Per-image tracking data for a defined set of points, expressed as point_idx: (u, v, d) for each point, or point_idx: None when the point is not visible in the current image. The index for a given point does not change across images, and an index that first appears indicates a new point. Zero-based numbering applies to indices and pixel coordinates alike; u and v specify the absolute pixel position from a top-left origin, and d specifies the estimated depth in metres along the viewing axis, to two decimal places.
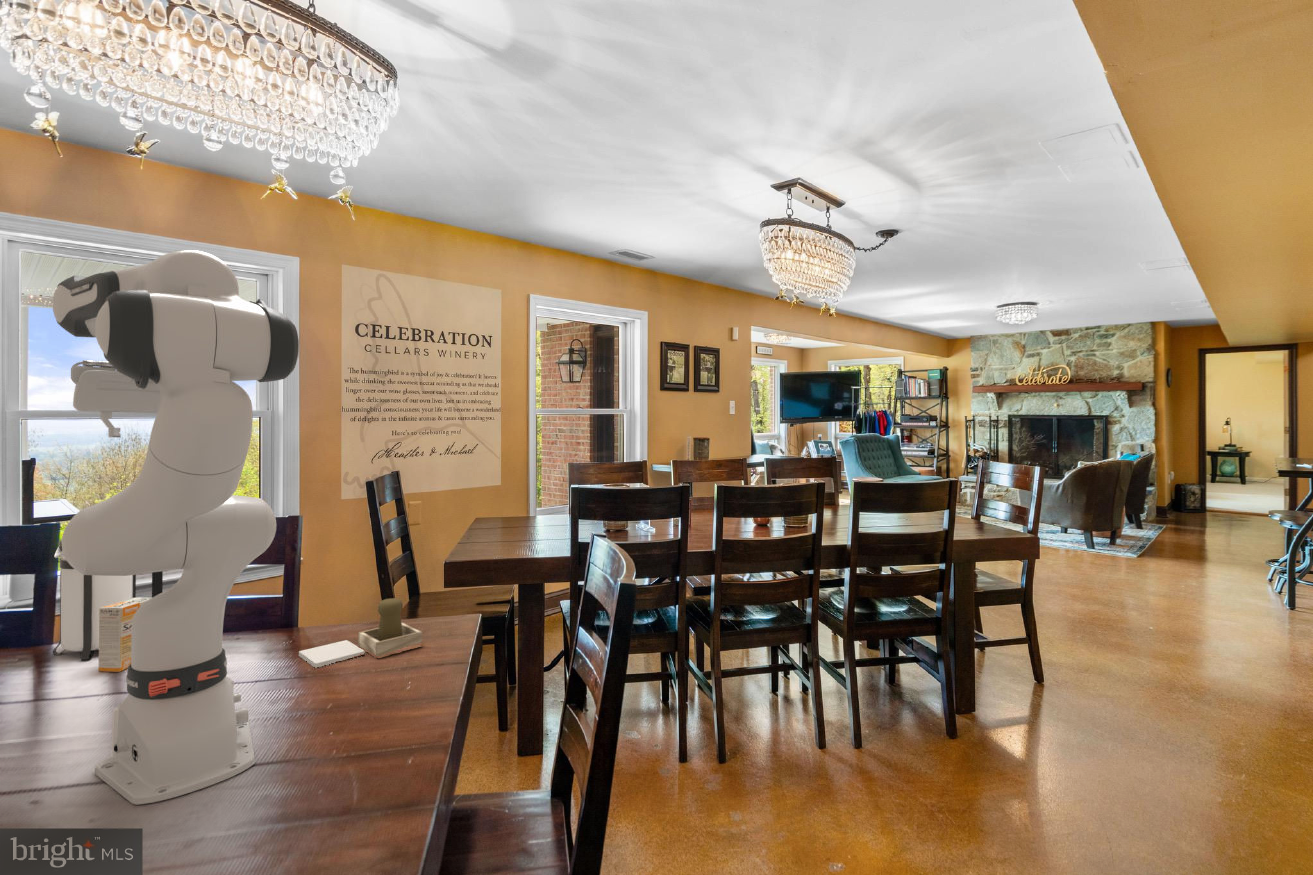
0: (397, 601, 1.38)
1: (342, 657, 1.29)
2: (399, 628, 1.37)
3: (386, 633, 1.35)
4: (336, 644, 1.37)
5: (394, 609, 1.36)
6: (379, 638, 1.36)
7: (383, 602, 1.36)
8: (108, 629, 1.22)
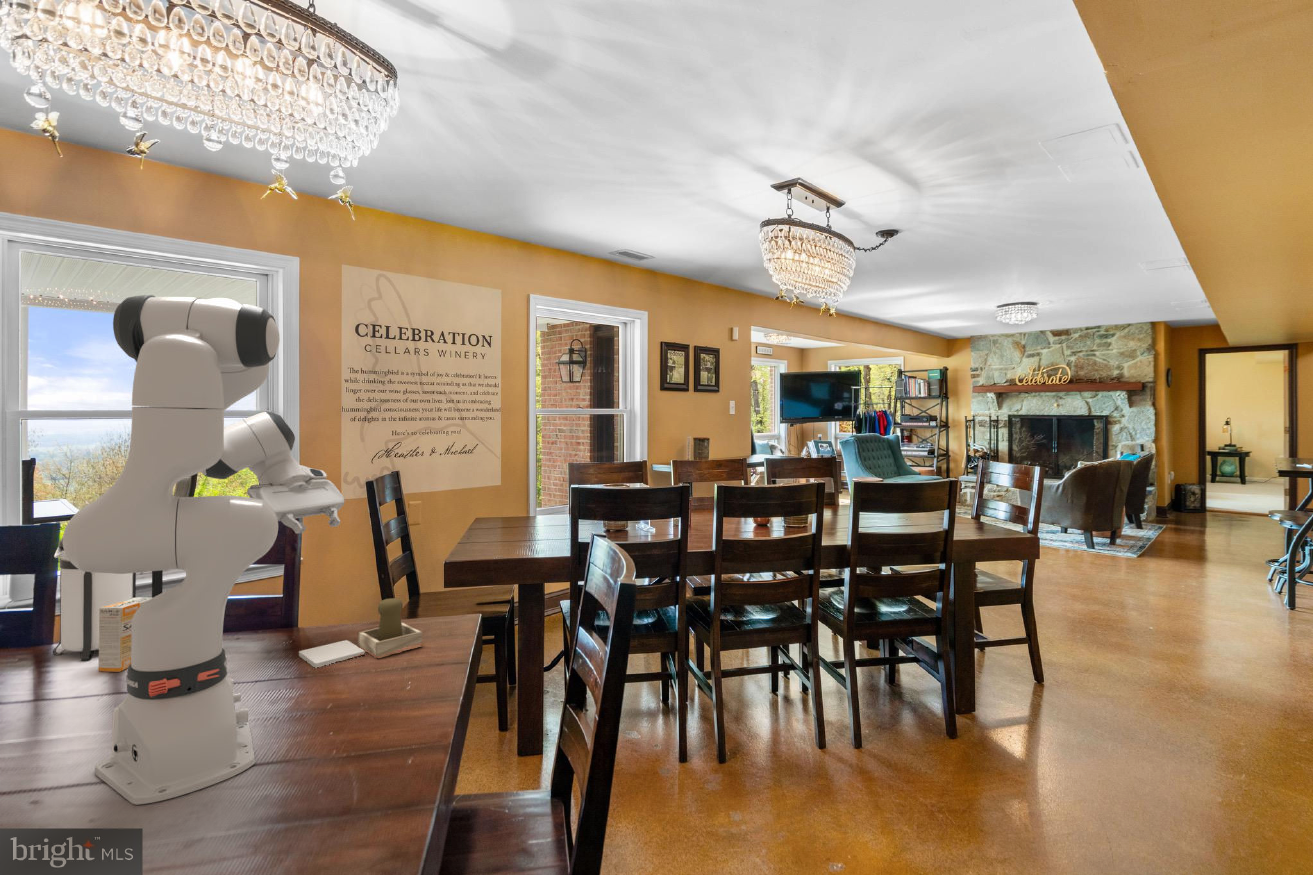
0: (397, 601, 1.38)
1: (342, 657, 1.29)
2: (399, 628, 1.37)
3: (386, 633, 1.35)
4: (336, 644, 1.37)
5: (394, 609, 1.36)
6: (379, 638, 1.36)
7: (383, 602, 1.36)
8: (108, 629, 1.22)
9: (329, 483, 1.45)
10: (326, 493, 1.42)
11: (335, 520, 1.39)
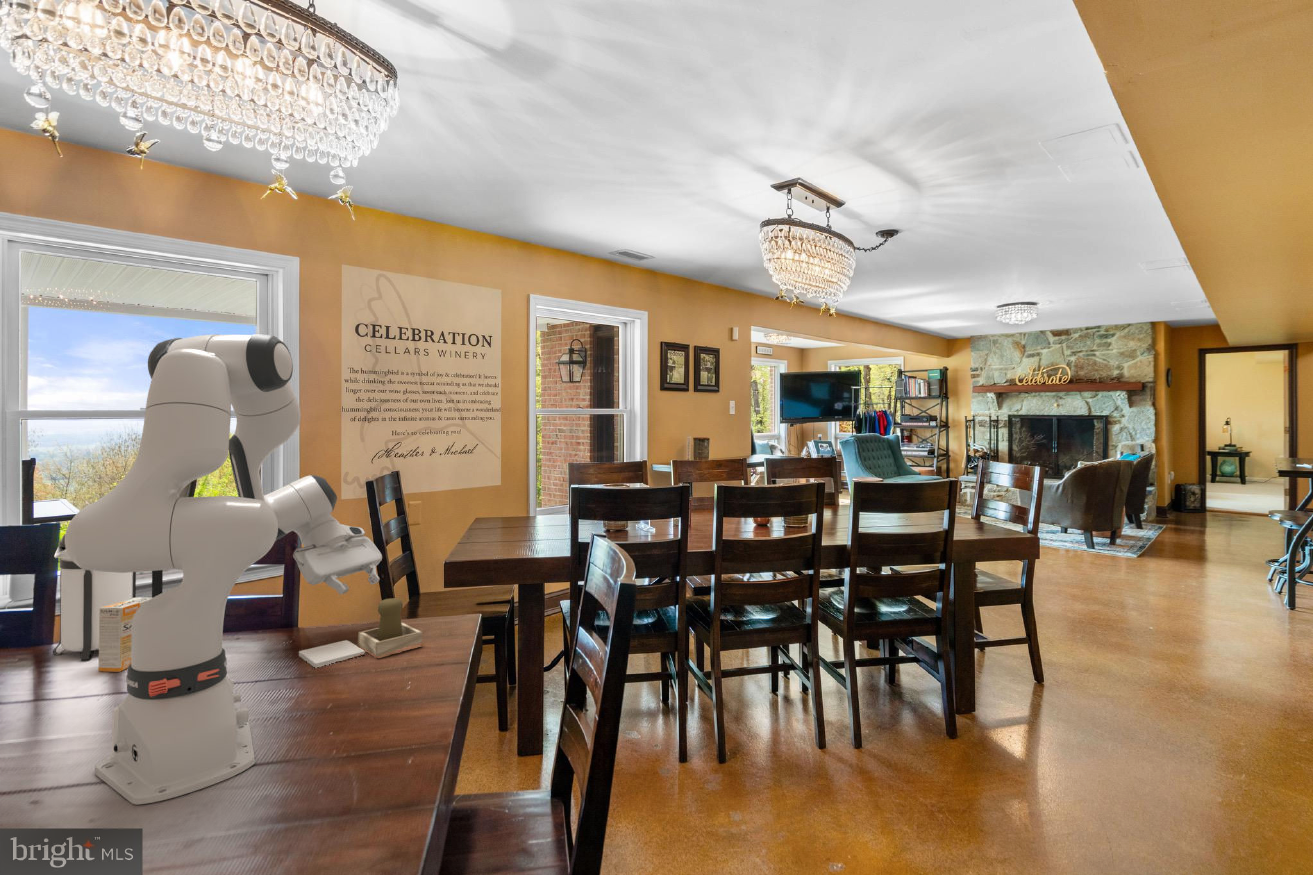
0: (397, 601, 1.38)
1: (342, 657, 1.29)
2: (399, 628, 1.37)
3: (386, 633, 1.35)
4: (336, 644, 1.37)
5: (394, 609, 1.36)
6: (379, 638, 1.36)
7: (383, 602, 1.36)
8: (108, 629, 1.22)
9: (367, 540, 1.50)
10: (365, 550, 1.47)
11: (374, 578, 1.44)
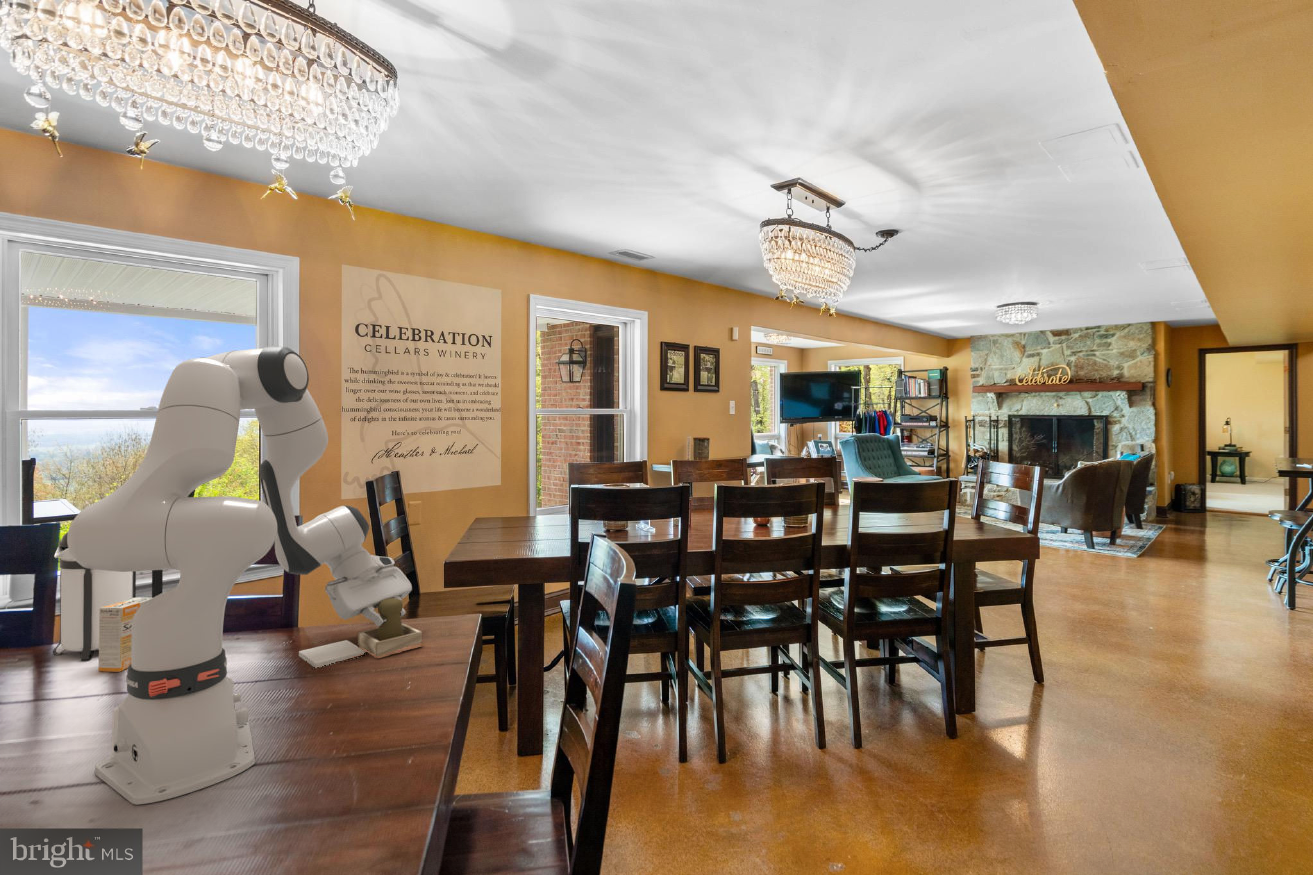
0: (397, 600, 1.38)
1: (342, 657, 1.29)
2: (399, 628, 1.37)
3: (386, 633, 1.35)
4: (336, 644, 1.37)
5: (394, 609, 1.36)
6: (379, 638, 1.36)
7: (383, 602, 1.36)
8: (108, 629, 1.22)
9: (397, 570, 1.47)
10: (395, 581, 1.45)
11: (401, 611, 1.40)
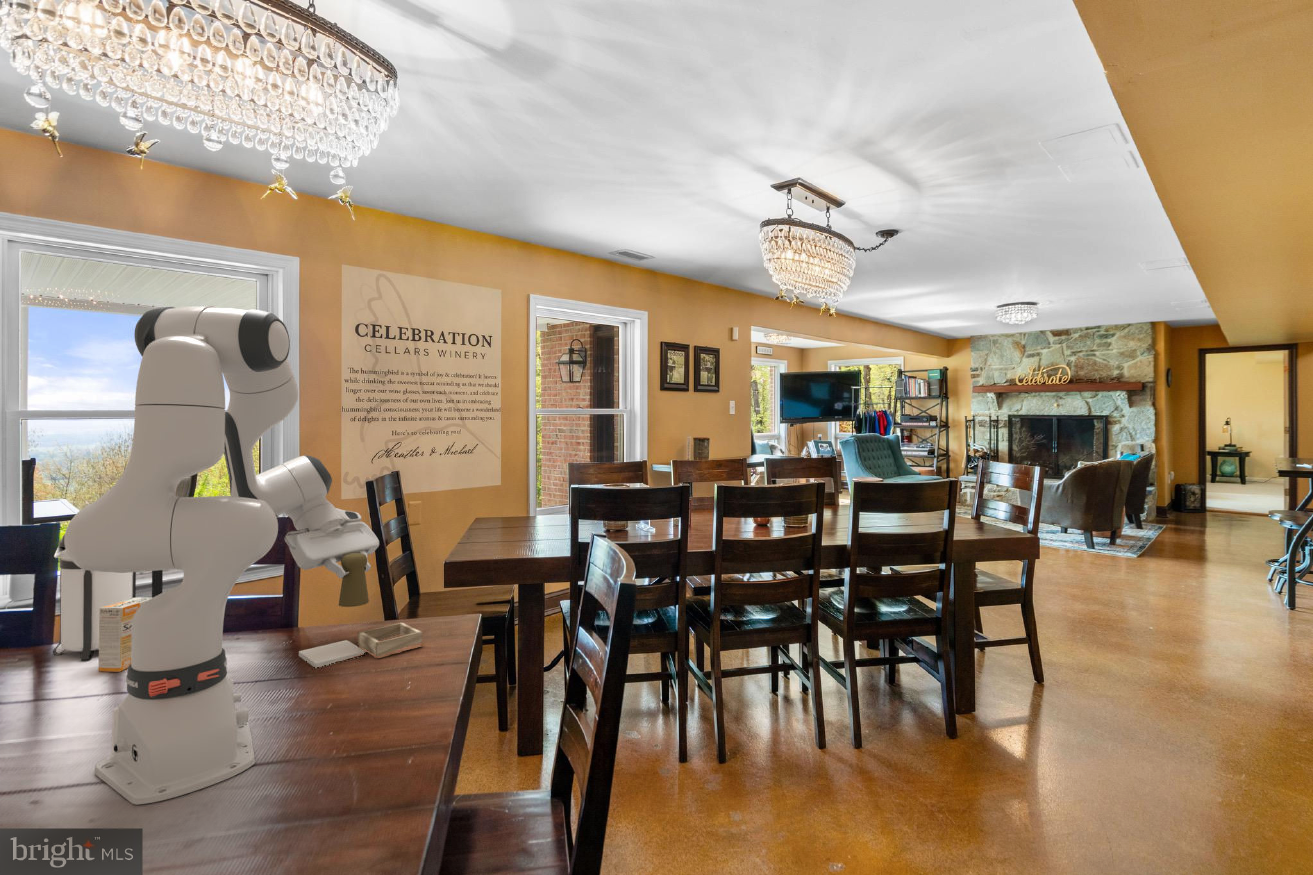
0: (361, 554, 1.33)
1: (342, 657, 1.29)
2: (363, 583, 1.33)
3: (348, 587, 1.31)
4: (336, 644, 1.37)
5: (357, 563, 1.32)
6: (342, 592, 1.32)
7: (346, 556, 1.32)
8: (108, 629, 1.22)
9: (364, 525, 1.43)
10: (361, 536, 1.41)
11: None
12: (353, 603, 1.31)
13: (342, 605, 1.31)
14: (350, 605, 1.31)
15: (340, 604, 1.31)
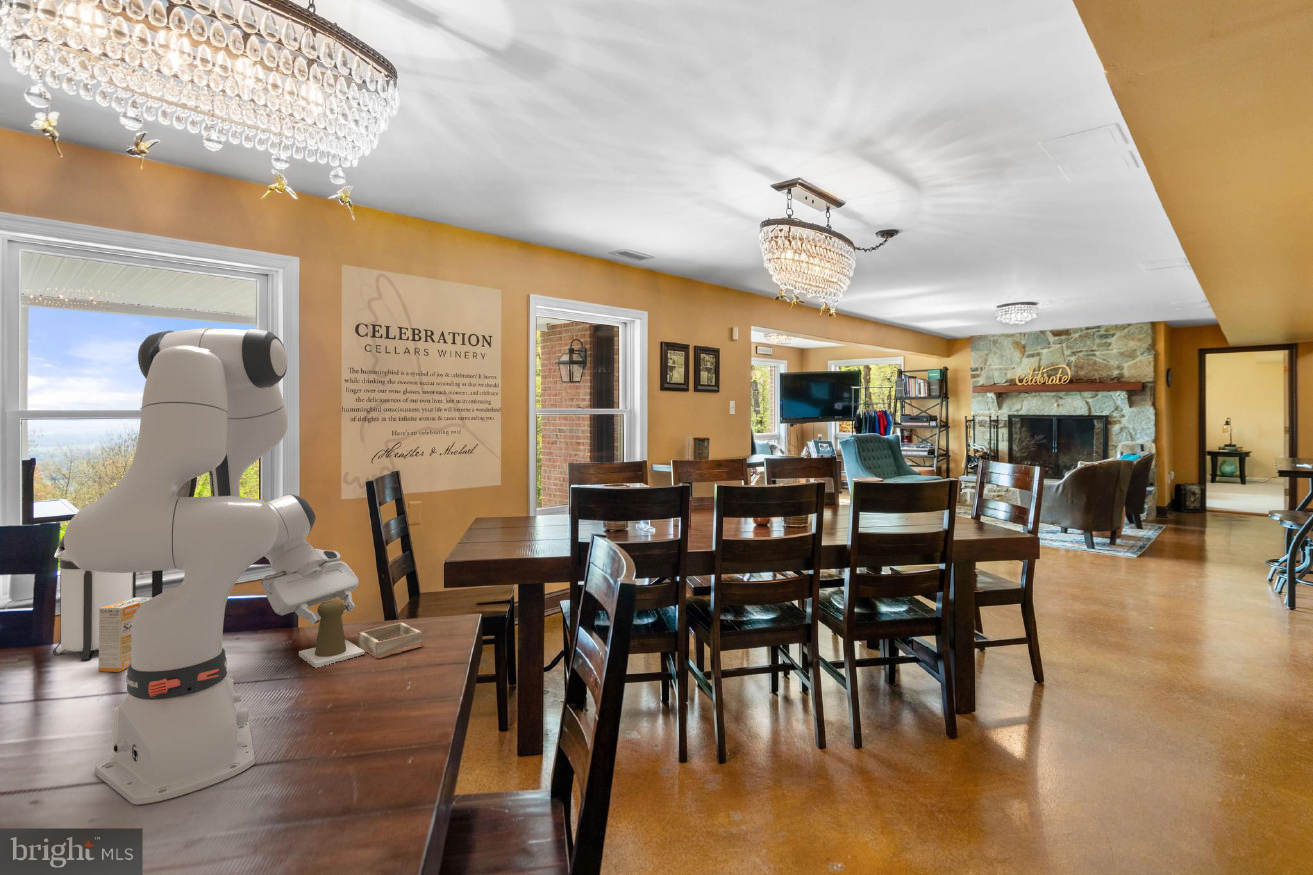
0: (338, 603, 1.32)
1: (342, 657, 1.29)
2: (340, 631, 1.31)
3: (325, 637, 1.30)
4: None
5: (334, 612, 1.30)
6: (318, 642, 1.30)
7: (322, 604, 1.30)
8: (108, 629, 1.22)
9: (343, 564, 1.42)
10: (340, 576, 1.39)
11: (350, 605, 1.36)
12: (329, 653, 1.29)
13: (318, 655, 1.29)
14: (326, 655, 1.29)
15: (316, 654, 1.30)
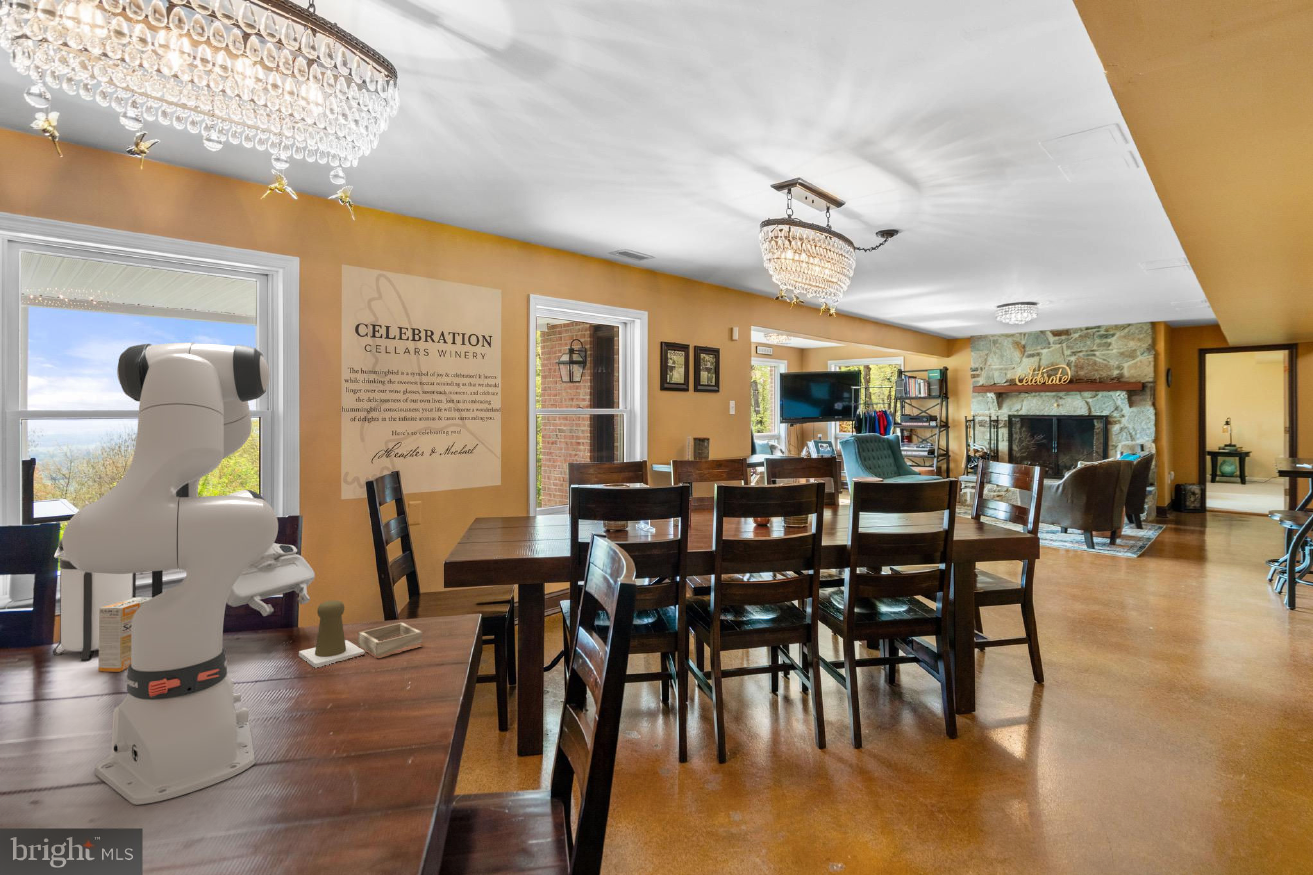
0: (338, 603, 1.32)
1: (342, 657, 1.29)
2: (340, 631, 1.31)
3: (325, 637, 1.30)
4: None
5: (334, 612, 1.30)
6: (318, 642, 1.30)
7: (322, 604, 1.30)
8: (108, 629, 1.22)
9: (299, 558, 1.45)
10: (296, 569, 1.43)
11: (304, 597, 1.40)
12: (329, 653, 1.29)
13: (318, 655, 1.29)
14: (326, 655, 1.29)
15: (316, 654, 1.30)
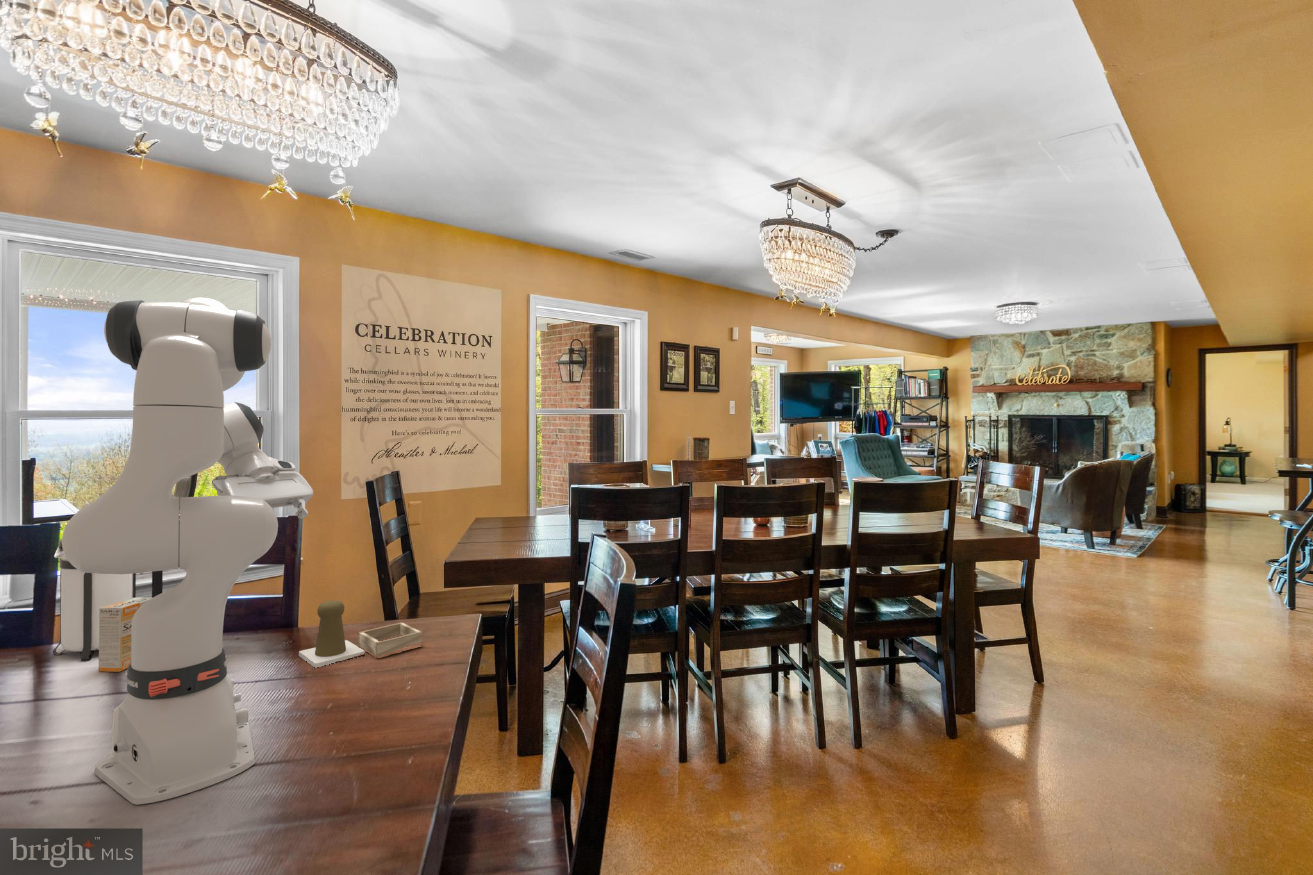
0: (338, 603, 1.32)
1: (342, 657, 1.29)
2: (340, 631, 1.31)
3: (325, 637, 1.30)
4: None
5: (334, 612, 1.30)
6: (318, 642, 1.30)
7: (322, 604, 1.30)
8: (108, 629, 1.22)
9: (298, 475, 1.45)
10: (294, 485, 1.43)
11: (302, 511, 1.40)
12: (329, 653, 1.29)
13: (318, 655, 1.29)
14: (326, 655, 1.29)
15: (316, 654, 1.30)
